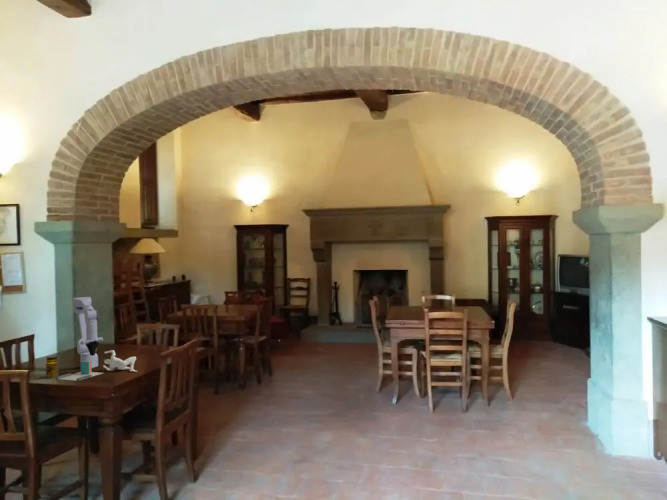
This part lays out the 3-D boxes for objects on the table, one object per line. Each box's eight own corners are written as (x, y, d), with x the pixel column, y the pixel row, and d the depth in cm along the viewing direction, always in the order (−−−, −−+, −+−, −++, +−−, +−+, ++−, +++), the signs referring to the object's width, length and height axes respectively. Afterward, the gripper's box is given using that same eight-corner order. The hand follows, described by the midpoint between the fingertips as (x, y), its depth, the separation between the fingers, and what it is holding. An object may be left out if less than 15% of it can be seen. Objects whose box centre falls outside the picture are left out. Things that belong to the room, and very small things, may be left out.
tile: (83, 373, 299) (83, 360, 299) (91, 373, 297) (91, 361, 297) (80, 373, 297) (80, 361, 297) (88, 374, 295) (88, 361, 295)
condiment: (43, 380, 287) (42, 358, 287) (49, 377, 295) (48, 355, 295) (57, 379, 288) (57, 357, 288) (63, 376, 296) (62, 354, 296)
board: (82, 372, 303) (82, 369, 303) (104, 374, 298) (104, 371, 298) (56, 380, 286) (55, 377, 286) (78, 382, 281) (78, 378, 281)
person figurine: (137, 350, 312) (105, 348, 303) (139, 358, 300) (106, 356, 292) (133, 370, 313) (101, 369, 305) (135, 379, 302) (102, 378, 294)
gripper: (87, 333, 293) (88, 357, 293) (106, 329, 307) (107, 353, 307) (77, 333, 296) (78, 357, 296) (97, 329, 309) (97, 352, 309)
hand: (92, 355), depth 301 cm, fingers closed
